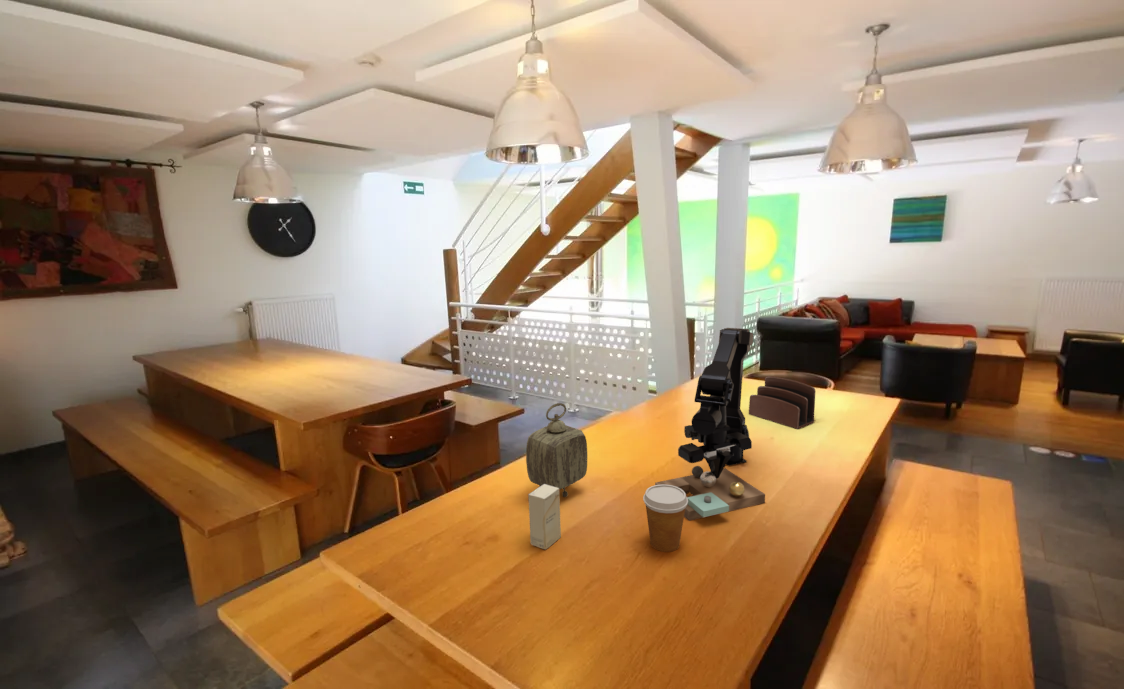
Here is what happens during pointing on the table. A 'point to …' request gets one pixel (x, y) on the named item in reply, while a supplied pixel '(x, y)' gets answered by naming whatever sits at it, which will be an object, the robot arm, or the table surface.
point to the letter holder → (784, 402)
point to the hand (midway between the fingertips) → (715, 477)
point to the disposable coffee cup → (665, 515)
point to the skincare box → (544, 516)
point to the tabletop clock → (556, 454)
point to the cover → (707, 504)
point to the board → (717, 491)
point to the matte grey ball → (697, 471)
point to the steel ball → (708, 479)
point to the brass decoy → (736, 489)
